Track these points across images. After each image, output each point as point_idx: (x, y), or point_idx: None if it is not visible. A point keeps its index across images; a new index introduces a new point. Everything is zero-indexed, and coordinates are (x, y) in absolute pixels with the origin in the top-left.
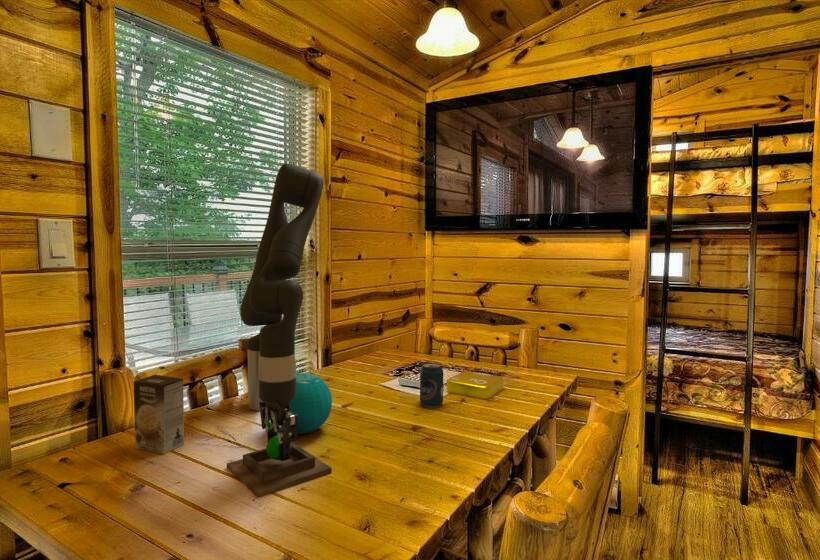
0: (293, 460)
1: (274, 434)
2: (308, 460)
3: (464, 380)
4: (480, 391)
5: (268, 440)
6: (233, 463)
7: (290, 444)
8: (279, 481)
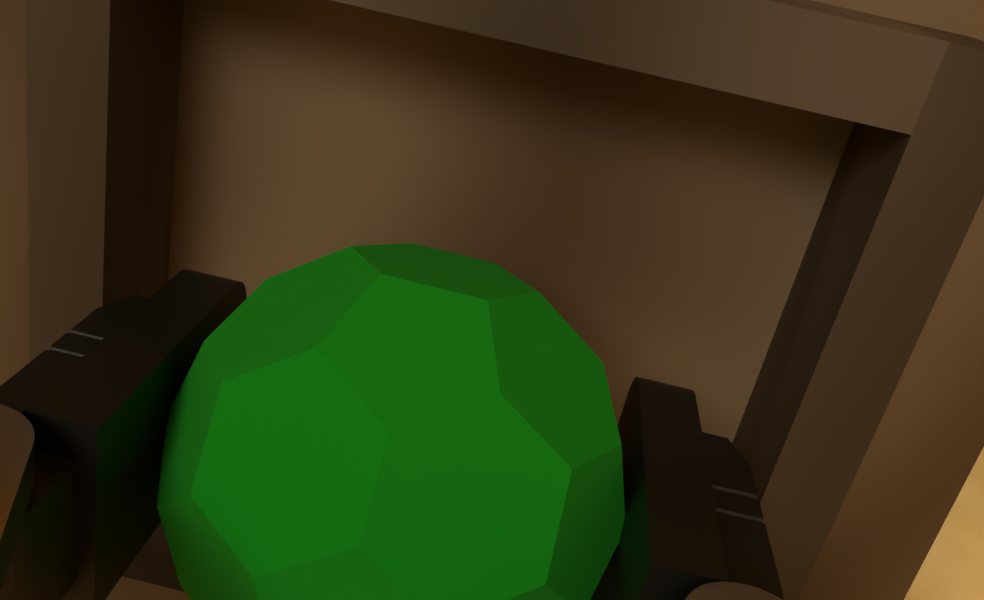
0: (491, 93)
1: (97, 503)
2: (973, 193)
3: None
4: None
5: (139, 549)
6: None
7: (502, 299)
8: (816, 576)
